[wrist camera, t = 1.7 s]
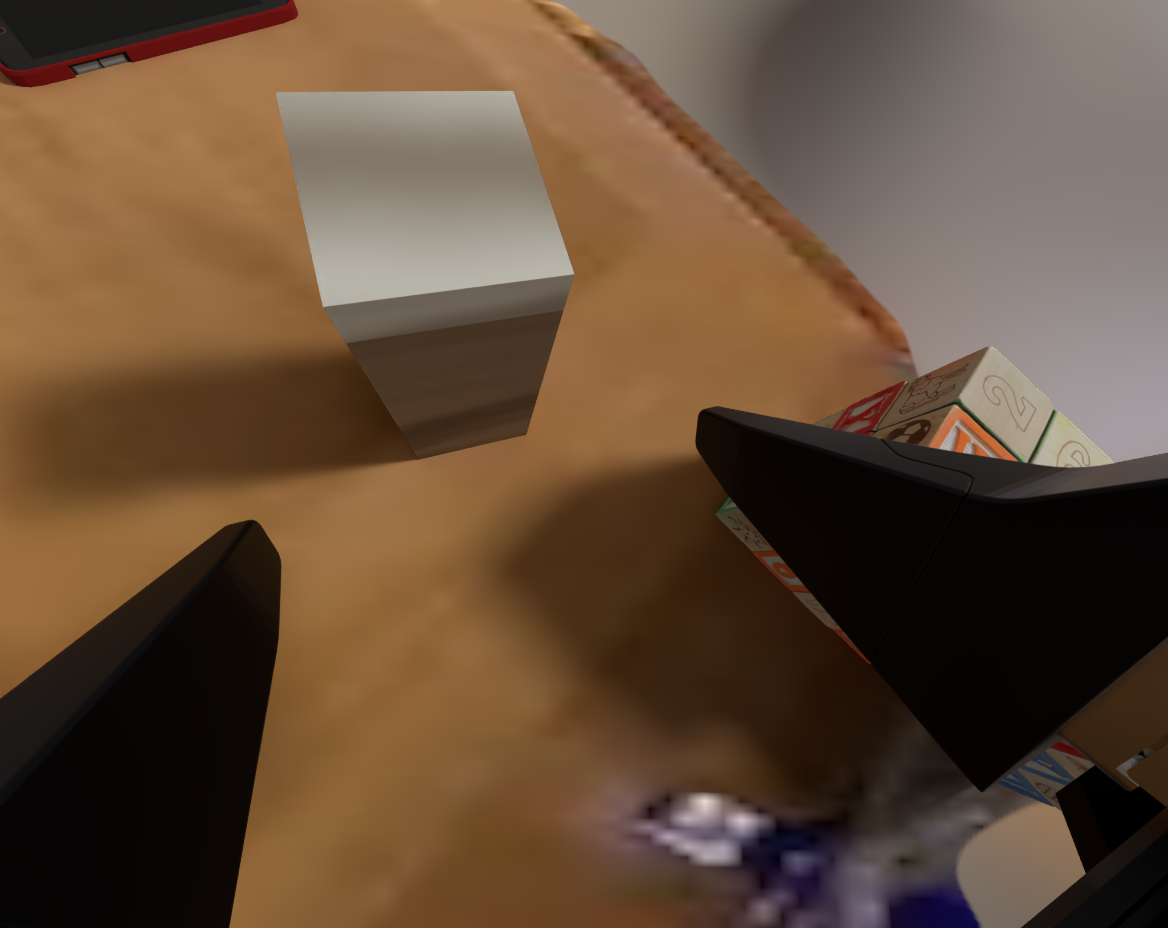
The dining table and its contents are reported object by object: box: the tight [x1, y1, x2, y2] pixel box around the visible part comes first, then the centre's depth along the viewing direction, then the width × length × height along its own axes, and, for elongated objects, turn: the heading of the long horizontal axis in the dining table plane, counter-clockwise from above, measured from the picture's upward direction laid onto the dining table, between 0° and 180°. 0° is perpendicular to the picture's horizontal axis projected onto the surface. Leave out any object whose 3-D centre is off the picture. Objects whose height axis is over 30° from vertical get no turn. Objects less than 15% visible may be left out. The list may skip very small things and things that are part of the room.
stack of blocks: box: [715, 347, 1114, 811], centre depth 19 cm, size 21×6×12 cm, turn 47°
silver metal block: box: [276, 91, 574, 459], centre depth 16 cm, size 6×6×13 cm
